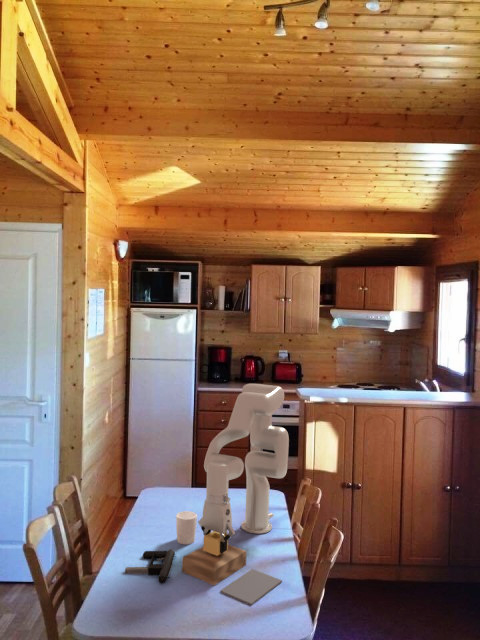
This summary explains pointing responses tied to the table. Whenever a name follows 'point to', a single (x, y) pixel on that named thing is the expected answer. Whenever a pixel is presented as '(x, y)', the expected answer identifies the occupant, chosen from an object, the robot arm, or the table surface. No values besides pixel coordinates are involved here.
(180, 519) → the white cup
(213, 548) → the collar
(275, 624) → the table surface
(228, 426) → the robot arm
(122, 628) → the table surface
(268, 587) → the mat
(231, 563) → the stand
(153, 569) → the door handle
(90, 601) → the table surface
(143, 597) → the table surface
